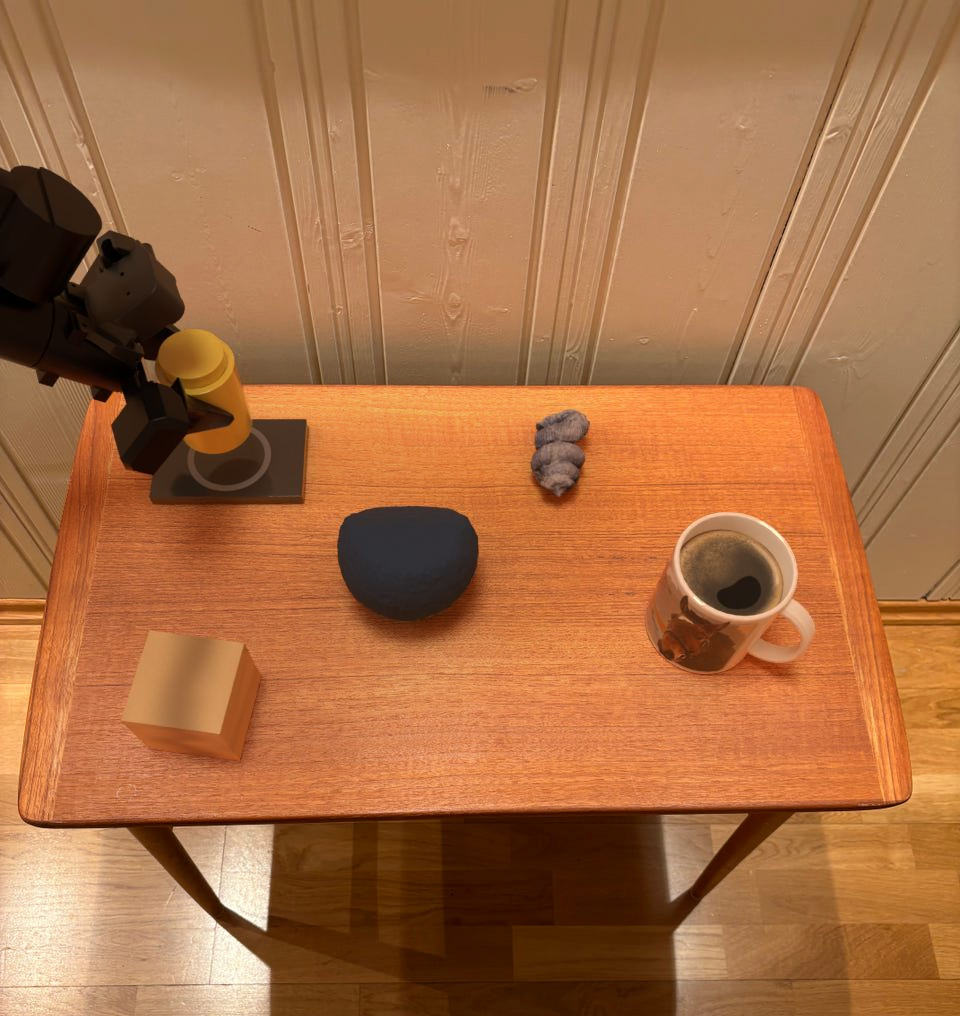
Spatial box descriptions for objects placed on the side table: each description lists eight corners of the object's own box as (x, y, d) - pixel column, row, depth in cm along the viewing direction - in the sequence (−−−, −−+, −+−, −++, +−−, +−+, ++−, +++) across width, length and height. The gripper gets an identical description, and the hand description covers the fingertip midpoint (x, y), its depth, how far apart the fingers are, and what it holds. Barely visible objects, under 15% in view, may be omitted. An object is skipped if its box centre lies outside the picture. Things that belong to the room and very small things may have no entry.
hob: (152, 504, 81) (148, 496, 80) (163, 426, 85) (159, 417, 84) (303, 503, 82) (301, 495, 81) (308, 426, 86) (306, 417, 84)
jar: (199, 465, 76) (171, 396, 68) (167, 415, 78) (136, 343, 70) (265, 434, 78) (245, 363, 70) (232, 386, 80) (209, 312, 72)
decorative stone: (488, 630, 77) (495, 576, 68) (355, 654, 76) (343, 602, 67) (462, 520, 82) (465, 455, 73) (336, 539, 80) (322, 476, 71)
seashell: (551, 431, 88) (551, 517, 84) (522, 403, 84) (521, 491, 80) (597, 413, 85) (600, 501, 81) (570, 383, 81) (571, 473, 77)
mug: (731, 563, 81) (772, 496, 71) (790, 677, 76) (842, 622, 66) (627, 592, 79) (655, 528, 69) (681, 711, 75) (718, 660, 65)
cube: (148, 748, 71) (119, 720, 65) (174, 664, 75) (149, 629, 68) (239, 761, 71) (219, 734, 65) (261, 676, 74) (244, 642, 68)
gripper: (117, 344, 55) (309, 412, 67) (60, 154, 62) (244, 246, 74) (40, 455, 60) (230, 499, 73) (-3, 269, 67) (177, 337, 80)
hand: (221, 391), depth 75 cm, fingers closed on jar, 6 cm apart
